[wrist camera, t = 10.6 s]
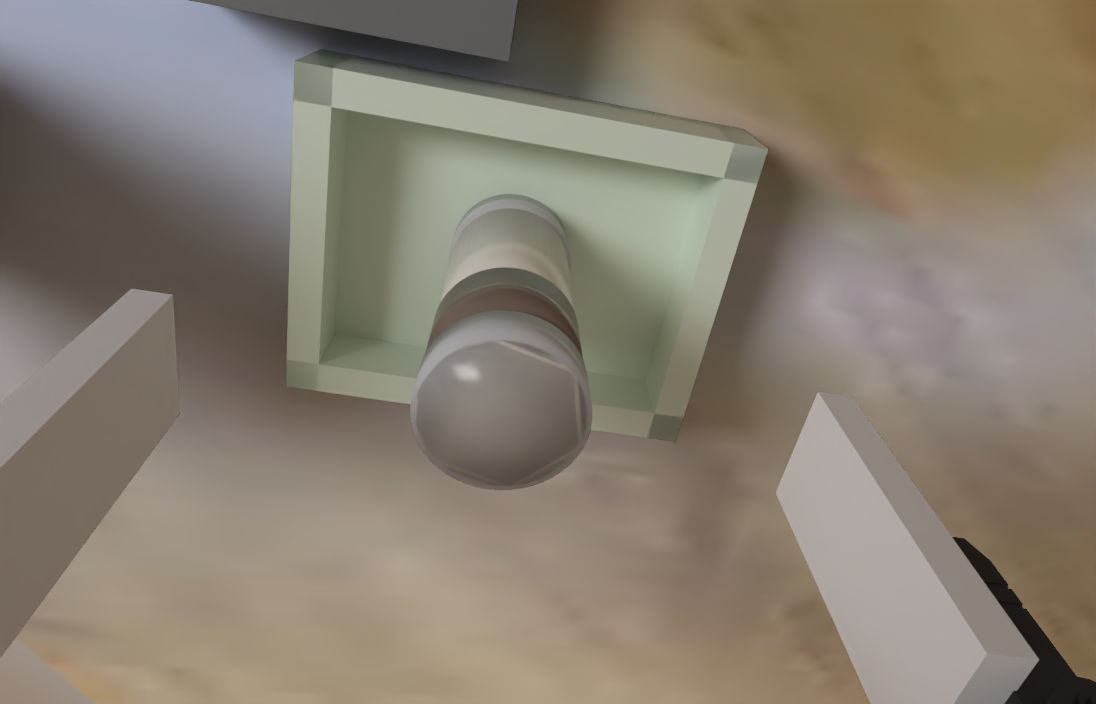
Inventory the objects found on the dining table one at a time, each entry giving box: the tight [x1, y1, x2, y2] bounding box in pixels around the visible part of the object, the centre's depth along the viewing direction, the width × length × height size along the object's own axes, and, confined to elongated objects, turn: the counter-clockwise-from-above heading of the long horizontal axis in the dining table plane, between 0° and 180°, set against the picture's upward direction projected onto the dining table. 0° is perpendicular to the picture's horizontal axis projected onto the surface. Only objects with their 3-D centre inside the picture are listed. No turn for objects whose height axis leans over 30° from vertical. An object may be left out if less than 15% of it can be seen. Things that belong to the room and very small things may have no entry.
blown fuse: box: [410, 194, 592, 490], centre depth 20 cm, size 4×4×10 cm
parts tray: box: [286, 49, 768, 442], centre depth 24 cm, size 10×13×3 cm
